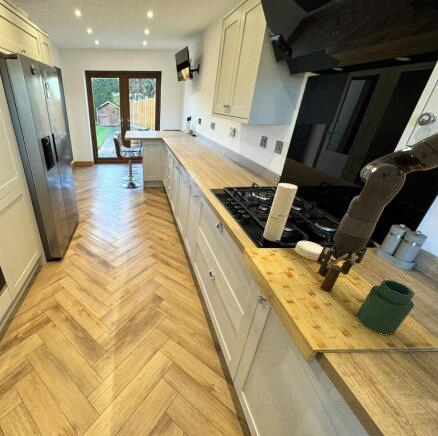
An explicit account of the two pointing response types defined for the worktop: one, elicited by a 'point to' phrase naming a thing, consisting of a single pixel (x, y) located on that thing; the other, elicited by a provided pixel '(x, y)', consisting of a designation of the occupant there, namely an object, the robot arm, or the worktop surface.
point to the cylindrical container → (279, 211)
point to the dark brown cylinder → (331, 278)
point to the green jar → (386, 307)
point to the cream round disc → (308, 249)
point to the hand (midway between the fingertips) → (332, 274)
